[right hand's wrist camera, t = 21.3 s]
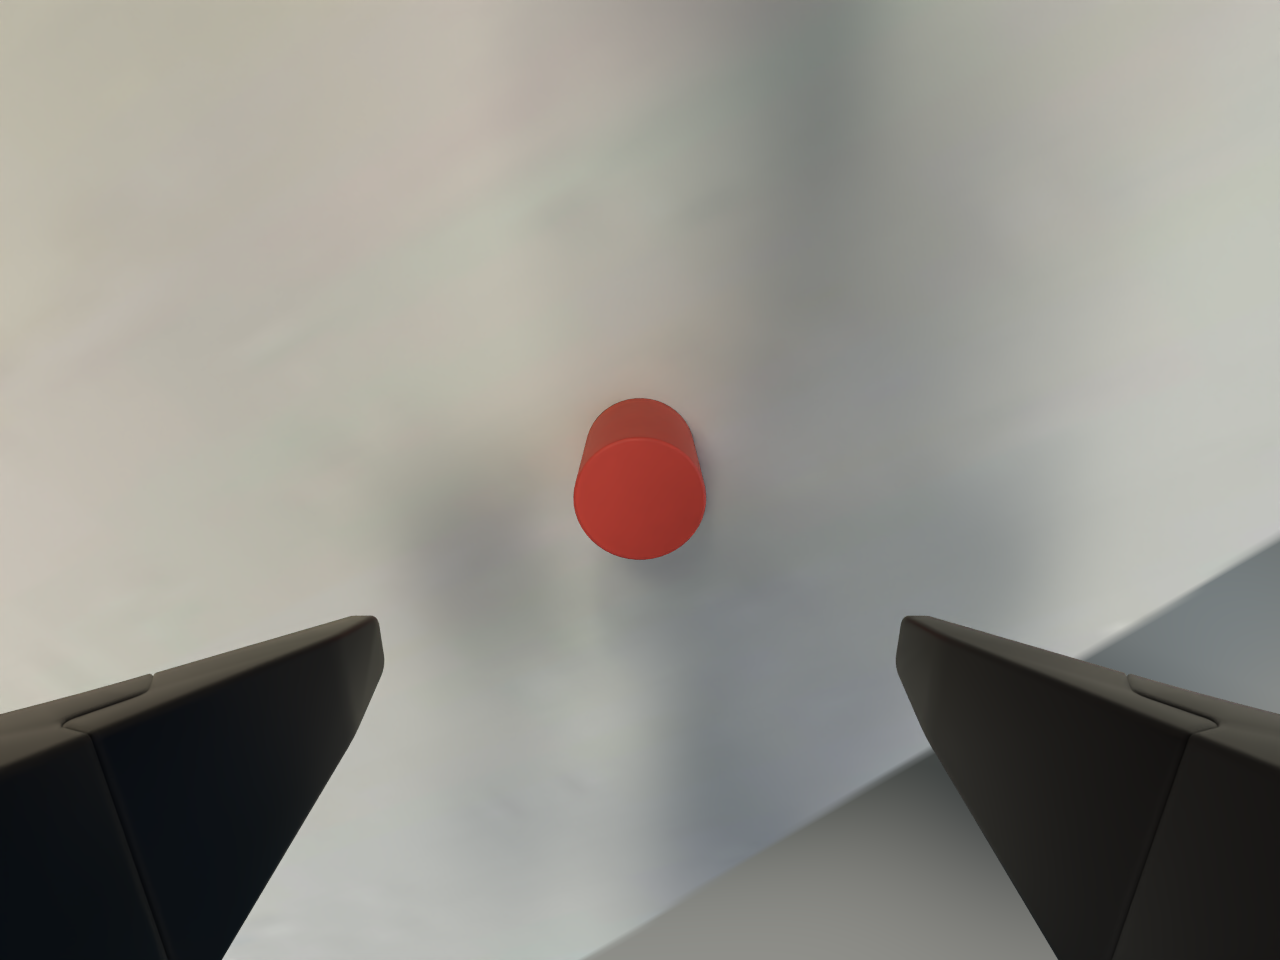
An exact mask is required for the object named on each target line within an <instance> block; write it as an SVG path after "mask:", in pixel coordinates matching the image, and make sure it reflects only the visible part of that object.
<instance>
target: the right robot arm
mask: <svg viewBox="0 0 1280 960" xmlns="http://www.w3.org/2000/svg"><path fill="white" fill-rule="evenodd" d="M383 668H384V653H383V647H382V640H381V634H380V627H379V623H378V620H377V619H376V617H374V616H350V617H346V618H343V619H339V620H336V621H333V622H329V623H326V624H322V625H319V626H315V627H312V628H308V629H305V630H302V631H298V632H295V633H291V634H288V635H284V636H281V637H278V638H274V639H271V640H267V641H264V642H260V643H257V644H253V645H250V646H247V647H243V648H240V649H236V650H233V651H229V652H226V653H222V654H219V655H216V656H212V657H209V658H205V659H202V660H198V661H195V662H191V663H188V664H185V665H181V666H178V667H174V668H171V669H167V670H164V671H160V672H157V673H155V674H154V676H153V675H151V674H147V675H144V676H140V677H137V678H133V679H130V680H126V681H123V682H119V683H116V684H112V685H108V686H105V687H101V688H98V689H94V690H91V691H87V692H83V693H80V694H76V695H72V696H68V697H65V698H61V699H57V700H53V701H50V702H46V703H42V704H38V705H34V706H31V707H27V708H23V709H19V710H15V711H11V712H7V713H3V714H0V960H222V959H223V957H224V955H225V953H226V952H227V950H228V948H229V947H230V945H231V943H232V942H233V940H234V938H235V937H236V935H237V933H238V932H239V930H240V928H241V927H242V925H243V923H244V922H245V920H246V918H247V917H248V915H249V913H250V911H251V910H252V908H253V906H254V905H255V903H256V901H257V900H258V898H259V896H260V895H261V893H262V891H263V890H264V888H265V886H266V885H267V883H268V881H269V880H270V878H271V876H272V875H273V873H274V871H275V869H276V868H277V866H278V864H279V863H280V861H281V859H282V858H283V856H284V854H285V853H286V851H287V849H288V848H289V846H290V844H291V843H292V841H293V839H294V838H295V836H296V834H297V833H298V831H299V829H300V828H301V826H302V824H303V822H304V821H305V819H306V817H307V816H308V814H309V812H310V811H311V809H312V807H313V806H314V804H315V802H316V801H317V799H318V797H319V796H320V794H321V792H322V791H323V789H324V787H325V786H326V784H327V782H328V780H329V779H330V777H331V775H332V774H333V772H334V770H335V769H336V767H337V765H338V764H339V762H340V760H341V759H342V757H343V755H344V754H345V752H346V750H347V749H348V747H349V745H350V743H351V741H352V740H353V738H354V736H355V734H356V732H357V730H358V728H359V725H360V723H361V721H362V719H363V716H364V714H365V712H366V709H367V707H368V705H369V702H370V700H371V698H372V696H373V693H374V691H375V689H376V686H377V684H378V682H379V679H380V677H381V675H382V672H383ZM896 668H897V672H898V675H899V677H900V679H901V682H902V684H903V686H904V689H905V691H906V693H907V696H908V698H909V700H910V702H911V705H912V707H913V709H914V712H915V714H916V716H917V719H918V721H919V723H920V725H921V728H922V730H923V732H924V734H925V736H926V738H927V740H928V741H929V743H930V745H931V747H932V749H933V750H934V752H935V754H936V755H937V757H938V759H939V760H940V762H941V764H942V765H943V767H944V769H945V770H946V772H947V774H948V775H949V777H950V779H951V780H952V782H953V784H954V786H955V787H956V789H957V791H958V792H959V794H960V795H961V797H962V799H963V801H964V802H965V804H966V806H967V807H968V809H969V811H970V812H971V814H972V816H973V817H974V819H975V821H976V822H977V824H978V826H979V827H980V829H981V831H982V833H983V834H984V836H985V838H986V839H987V841H988V842H989V844H990V846H991V848H992V849H993V851H994V853H995V854H996V856H997V858H998V859H999V861H1000V863H1001V864H1002V866H1003V868H1004V869H1005V871H1006V873H1007V875H1008V876H1009V878H1010V880H1011V881H1012V883H1013V885H1014V886H1015V888H1016V890H1017V891H1018V893H1019V895H1020V896H1021V898H1022V900H1023V901H1024V903H1025V905H1026V906H1027V908H1028V910H1029V911H1030V913H1031V915H1032V917H1033V918H1034V920H1035V921H1036V923H1037V925H1038V926H1039V928H1040V930H1041V932H1042V933H1043V935H1044V937H1045V938H1046V940H1047V942H1048V943H1049V945H1050V947H1051V948H1052V950H1053V952H1054V953H1055V955H1056V957H1057V958H1058V960H1280V714H1277V713H1273V712H1269V711H1265V710H1261V709H1257V708H1253V707H1249V706H1245V705H1242V704H1238V703H1234V702H1230V701H1227V700H1223V699H1219V698H1215V697H1212V696H1208V695H1204V694H1200V693H1197V692H1193V691H1189V690H1186V689H1182V688H1179V687H1175V686H1172V685H1168V684H1164V683H1161V682H1157V681H1154V680H1150V679H1147V678H1143V677H1140V676H1136V675H1133V674H1129V675H1127V676H1126V674H1125V673H1123V672H1119V671H1116V670H1113V669H1109V668H1106V667H1102V666H1099V665H1095V664H1092V663H1089V662H1085V661H1082V660H1078V659H1075V658H1071V657H1068V656H1064V655H1061V654H1058V653H1054V652H1051V651H1047V650H1044V649H1040V648H1037V647H1033V646H1030V645H1027V644H1023V643H1020V642H1016V641H1013V640H1009V639H1006V638H1002V637H999V636H996V635H992V634H989V633H985V632H982V631H978V630H975V629H972V628H968V627H965V626H961V625H958V624H954V623H951V622H947V621H944V620H941V619H937V618H934V617H930V616H906V617H904V619H903V620H902V623H901V627H900V634H899V640H898V647H897V653H896Z"/></svg>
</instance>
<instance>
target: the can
mask: <svg viewBox="0 0 1280 960" xmlns="http://www.w3.org/2000/svg"><path fill="white" fill-rule="evenodd" d="M705 506H706V490H705V485H704V481H703V477H702V473H701V469H700V465H699V461H698V457H697V453H696V449H695V445H694V441H693V438H692V434H691V432H690V429H689V427H688V425H687V424H686V422H685V421H684V419H683V418H682V417H681V416H680V415H679V414H678V413H677V412H676V411H675V410H673V409H672V408H671V407H669V406H667V405H665V404H663V403H661V402H658V401H655V400H651V399H644V398H636V399H628V400H625V401H621V402H619V403H616V404H614V405H613V406H611V407H609V408H608V409H606V410H605V411H604V412H603V413H602V414H601V415H600V416H599V417H598V418H597V419H596V420H595V422H594V423H593V425H592V427H591V429H590V431H589V434H588V437H587V440H586V444H585V448H584V452H583V456H582V460H581V464H580V468H579V472H578V475H577V479H576V483H575V488H574V508H575V513H576V516H577V519H578V521H579V523H580V525H581V527H582V529H583V530H584V532H585V533H586V535H587V536H588V537H589V538H590V539H591V540H592V541H593V542H594V543H595V544H597V545H598V546H599V547H601V548H602V549H604V550H605V551H607V552H609V553H611V554H613V555H616V556H619V557H623V558H627V559H635V560H645V559H653V558H657V557H661V556H663V555H666V554H669V553H671V552H672V551H674V550H676V549H678V548H679V547H680V546H682V545H683V544H684V543H685V542H687V541H688V540H689V539H690V538H691V536H692V535H693V534H694V533H695V531H696V530H697V528H698V527H699V525H700V522H701V520H702V518H703V515H704V511H705Z"/></svg>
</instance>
